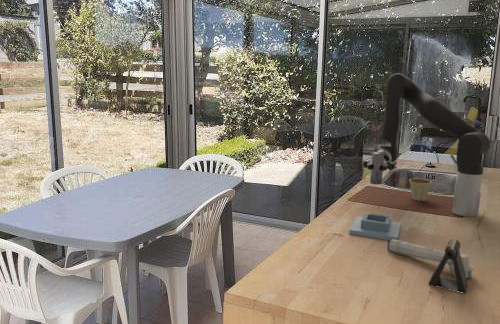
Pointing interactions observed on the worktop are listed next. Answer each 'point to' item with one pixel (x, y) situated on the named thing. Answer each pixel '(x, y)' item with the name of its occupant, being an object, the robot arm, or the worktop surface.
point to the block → (376, 226)
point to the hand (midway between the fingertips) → (376, 168)
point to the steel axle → (376, 168)
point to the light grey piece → (427, 254)
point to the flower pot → (419, 189)
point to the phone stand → (458, 267)
